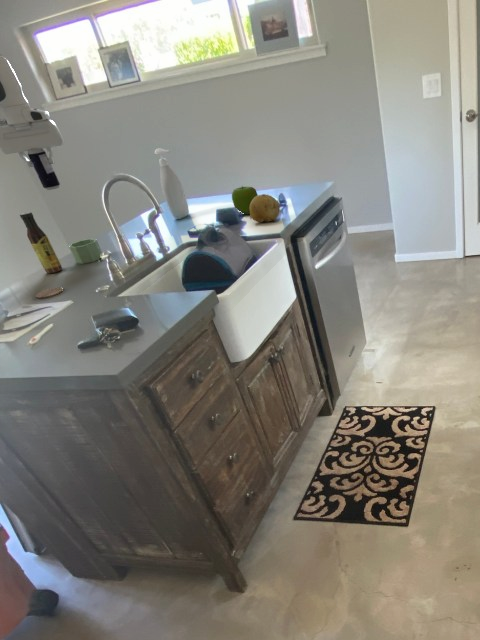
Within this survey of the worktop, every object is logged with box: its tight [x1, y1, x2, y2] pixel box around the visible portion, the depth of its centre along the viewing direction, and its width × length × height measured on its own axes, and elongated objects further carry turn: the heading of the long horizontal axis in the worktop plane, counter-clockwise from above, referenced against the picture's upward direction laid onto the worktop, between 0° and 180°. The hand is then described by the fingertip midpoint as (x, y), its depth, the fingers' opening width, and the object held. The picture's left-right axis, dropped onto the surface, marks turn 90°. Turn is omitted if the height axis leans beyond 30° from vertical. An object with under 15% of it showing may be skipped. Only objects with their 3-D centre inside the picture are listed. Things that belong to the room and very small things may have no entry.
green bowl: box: [68, 238, 103, 265], centre depth 203 cm, size 10×10×6 cm
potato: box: [249, 193, 281, 223], centre depth 212 cm, size 10×12×10 cm
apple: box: [231, 185, 259, 216], centre depth 228 cm, size 11×11×11 cm
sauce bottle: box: [19, 211, 63, 275], centre depth 191 cm, size 6×6×20 cm
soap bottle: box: [154, 147, 190, 220], centre depth 234 cm, size 14×8×27 cm, turn 169°
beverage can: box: [27, 148, 61, 191], centre depth 183 cm, size 6×6×12 cm
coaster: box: [35, 286, 65, 299], centre depth 177 cm, size 9×9×1 cm
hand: (42, 165), depth 182 cm, fingers closed on beverage can, 5 cm apart
